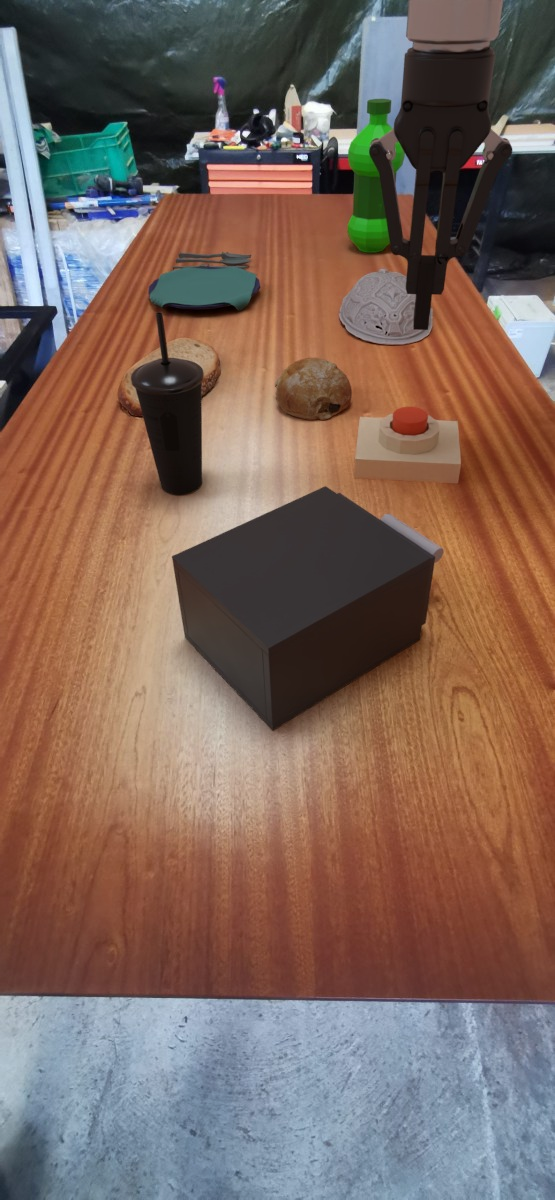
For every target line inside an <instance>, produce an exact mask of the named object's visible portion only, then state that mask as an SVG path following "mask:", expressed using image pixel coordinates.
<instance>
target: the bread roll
mask: <svg viewBox="0 0 555 1200" xmlns="http://www.w3.org/2000/svg"><path fill="white" fill-rule="evenodd" d="M274 388H276V390H275V395H276V402H277V405H278V406H279V407H280V408H281V409H282V411H283V412H284V413H285V414H286V415H287V414H288V415H290V416H293V417H295V418H299V419H301V420H308V421H309V420H312V421H314V420H315V421H316V420H320V421H326V420H329V419H330V418H332V417H334V416H336V415H338V414H339V413H341V412H342V411H344V410H346V409H348V407H349V405H350V404H351V401H352V394H353V391H352V385H351V383H350V380H349V378H348V376H347V374H346V373H345V372H344V371H343V370H341V369H340V368H339V367H338V365H337V363H335V362H331V361H330V360H327V359H324V358H320V357H307V358H301V359H299V360H296V361H294V362H293V363H291V364H289V365H288V366H287V367H286V368H284V369H282V371H281V376H279V377H278V378H277V379H276V381H275V383H274Z"/></svg>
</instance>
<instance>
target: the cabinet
mask: <svg viewBox="0 0 555 1200" xmlns="http://www.w3.org/2000/svg"><path fill="white" fill-rule="evenodd" d="M337 493H338V492H335V491H334V490H333V489H331V488H329V487H328V486H323V487H320V488H318V489H316V490H314V491H311V492H309V493H307V494H305V495H302V496H300V497H298V498H296V499H294V500H292V501H290V502H288V503H285V504H283V505H281V506H279V507H277V508H274V509H272V510H270V511H268V512H266V513H264V514H261V515H259V516H257V517H255V518H253V519H250V520H248V521H246V522H244V523H242V524H240V525H237V526H235V527H233V528H231V529H228V530H227V531H224V532H222V533H220V534H218V535H216V536H213V537H211V538H209V539H206V540H205V541H203V542H200V543H198V544H196V545H194V546H191V547H190V548H187V549H185V550H183V551H180V552H178V553H176V554H175V555H172V556H171V559H172V565H173V572H174V579H175V584H176V592H177V597H178V604H179V609H180V616H181V622H182V628H183V634H184V638H185V639H186V640H187V642H188V643H189V644H190V645H191V646H192V647H193V648H194V649H195V650H196V652H198V653H199V654H200V655H201V656H202V658H204V659H205V661H206V662H207V663H208V664H209V665H210V666H211V667H212V668H213V669H214V670H215V672H217V673H218V674H219V676H221V678H222V679H223V680H224V681H225V682H226V683H227V684H228V685H229V686H230V687H231V688H232V689H233V690H234V691H235V692H236V693H237V695H239V697H240V698H241V699H242V700H243V701H244V702H245V703H246V704H247V705H248V706H249V707H250V708H251V710H253V711H254V712H255V714H256V715H257V716H258V717H259V718H260V719H261V720H262V722H264V723H265V724H266V726H268V728H270V730H272V731H275V730H276V729H278V728H280V727H282V726H283V725H285V724H286V723H288V722H289V721H291V720H293V719H294V718H296V717H298V716H299V715H301V714H303V713H305V712H306V711H307V710H309V709H311V708H312V707H314V706H316V705H317V704H319V703H320V702H322V701H323V700H325V699H327V698H328V697H330V696H332V695H333V694H335V693H336V692H338V691H340V690H342V689H343V688H345V687H347V686H348V685H349V684H351V683H353V682H354V681H356V680H358V679H359V678H361V677H362V676H364V675H365V674H368V673H369V672H370V671H373V670H374V669H375V668H377V667H379V666H380V665H382V664H384V663H385V662H387V661H389V660H390V659H392V658H393V657H396V656H397V655H398V654H400V653H401V652H403V651H405V650H406V649H407V648H410V647H411V646H412V645H415V643H417V642H419V641H420V640H421V634H422V629H423V625H422V622H423V615H424V608H425V601H426V594H427V587H428V580H429V573H430V566H431V559H432V557H430V556H429V555H427V554H426V553H424V552H423V551H421V550H420V549H418V548H417V547H415V546H414V545H412V544H411V543H409V542H408V541H407V540H405V539H404V538H402V537H401V536H399V535H398V534H396V533H395V532H393V531H392V530H390V529H389V528H387V527H386V526H384V525H383V524H381V523H380V522H378V521H377V520H375V519H374V518H372V517H371V516H369V515H368V514H366V513H365V512H363V511H362V510H360V509H359V508H357V507H356V506H354V505H353V504H351V503H350V502H349V501H347V500H346V499H344V498H343V497H341V496H340V495H338V494H337Z"/></svg>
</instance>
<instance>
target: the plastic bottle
mask: <svg viewBox="0 0 555 1200" xmlns="http://www.w3.org/2000/svg"><path fill="white" fill-rule="evenodd" d="M366 103H367V104H366V114H369V119H368V121H369V122H368V123H367V125H366V126H364V127H363V128H362V129H361V131H359V132H358V134H357V135H356V136H355V137H354V138H353V139H352V141H351V142H350V144H349V147H348V150H347V160H348V166H349V168H350V169H351V170H352V171H353V201H352V214H351V217H350V218H349V221H348V223H347V235H348V238H349V239H350V241H351V242H352V243H353V245H355V247H357V249H358V250H359V251H360V252H363V253H373V254H374V253H379V252H383V251H384V250H385V248H386V247H388V246H390V241H389V234H388V228H387V221H386V215H385V208H384V202H383V195H382V189H381V182H380V176H379V172H378V170H377V168H376V166H375V164H374V162H373V161H372V159H371V157H370V154H369V148H370V144H371V141H372V140H373V139H375V138H379V139H380V138H381V137H382V136H384V135H385V134H386V133H388V132H389V131H390V130H392V129H393V128H394V127H392V126H391V125H390V123H388V115H389V114H391V112H392V99H389V98H371V99H368V100H367V102H366ZM395 149H396V156H395V158H394V160H393V161H392V165H393V170H394V177H395V184H396V183H397V173H398V171H399V170H400V169H401V168H402V166H403V164H404V160H405V156H406V154H405V152H404V151H403V149H402V147H401V145H400V143H399V142H397V143H396V145H395Z"/></svg>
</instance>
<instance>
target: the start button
mask: <svg viewBox="0 0 555 1200" xmlns="http://www.w3.org/2000/svg"><path fill="white" fill-rule="evenodd" d="M392 414H393V421H392V429H393V431H394V432H396V433H399V434H402V435H412V436H415V435H419V434H423V433H424V432H425V431H426V428H427V420H428V416H429V414H428V412H427V411H425V410H424V409H422V408H420V407H416V406H403V407H398V408H397V409H395V410H394V411H393V412H392Z"/></svg>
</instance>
